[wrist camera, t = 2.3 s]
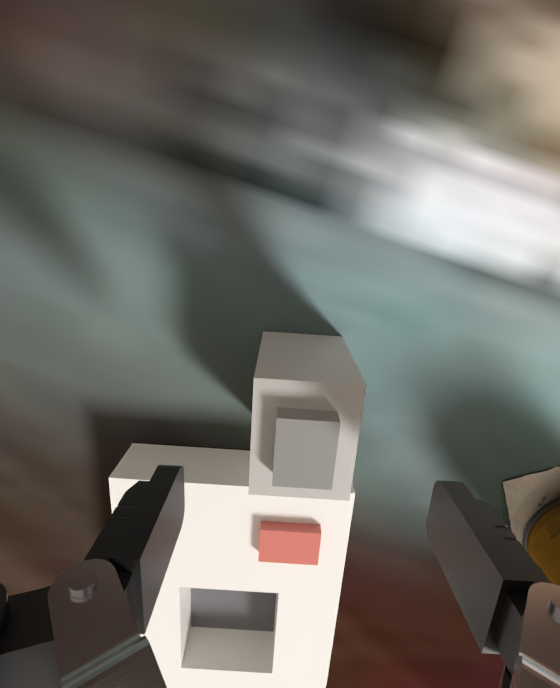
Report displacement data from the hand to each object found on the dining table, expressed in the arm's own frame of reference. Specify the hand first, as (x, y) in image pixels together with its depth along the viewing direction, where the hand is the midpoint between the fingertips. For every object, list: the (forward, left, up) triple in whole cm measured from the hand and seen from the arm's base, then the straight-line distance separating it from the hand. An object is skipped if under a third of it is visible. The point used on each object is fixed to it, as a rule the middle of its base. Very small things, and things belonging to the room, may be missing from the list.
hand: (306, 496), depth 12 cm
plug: (0, 0, -8) cm, 8 cm away
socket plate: (+12, -3, -8) cm, 15 cm away
